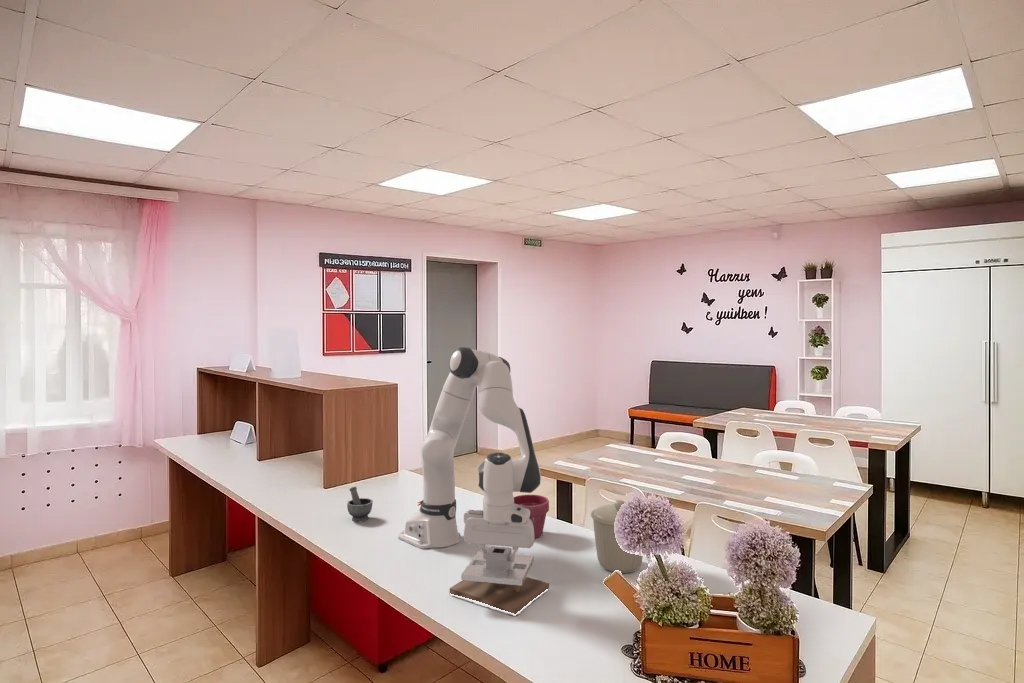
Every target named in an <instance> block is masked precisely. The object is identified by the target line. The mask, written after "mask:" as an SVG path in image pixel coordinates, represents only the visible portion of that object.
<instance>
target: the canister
mask: <svg viewBox="0 0 1024 683" xmlns="http://www.w3.org/2000/svg"><path fill="white" fill-rule="evenodd" d="M624 503H625V504H626V502H625V501H624V500H622V499H617V500H615V501H614V503H613V504H612V503H611V504H610V503H609V504H604V505H600V506H598V507H596V508H594V509H593V510H592V511H591V512H590V517H591V518H592V521H593V531H594V540H595V550H596V557H597V561H598V563H599V564H600V567H602V568H603V569H605V570H607V571H609V572H612V573H614V572H613V571H615V570H619V571H621V573H620V574H627V573H628V574H629V573H632V572H635V571H637V570H638V569H639V568H641V565H642V561H643V557H644V555H643V556H639V555H635V554H630V553H627V552H625V551H623V550H622V549H621V548H620V546H619V545H618V543H617V541H616V538H615V533H614V522H615V518H616V515H617V512H618V511H619V509H620V507H621V505H622V504H624Z"/></svg>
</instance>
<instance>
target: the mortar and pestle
mask: <svg viewBox="0 0 1024 683" xmlns="http://www.w3.org/2000/svg"><path fill="white" fill-rule="evenodd" d="M357 489H358V488H357V486H352V487H350V488H349V491H350V494H351V499H350V500H348V501H347V503H346V504H347V505H346V506H347V511H348V514H349V515H350V516H351V518H352V519H351V521H352V522H355V523H362V522H365V521H366V522H367V521H368V520H369V515H370V514H371V512H372V511H373V501H374V500H373V499H370V498H365V497H364V498H363V497H360V496H359V494H358V491H357Z"/></svg>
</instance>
